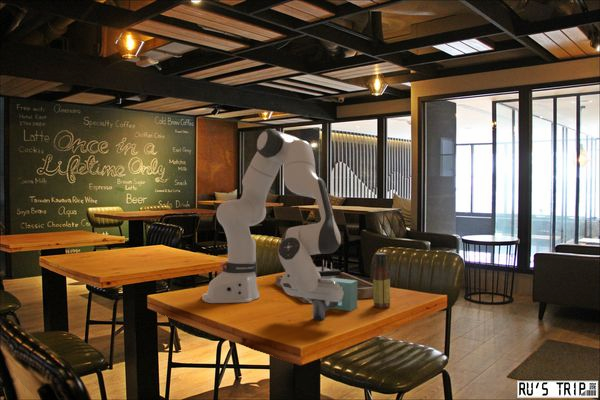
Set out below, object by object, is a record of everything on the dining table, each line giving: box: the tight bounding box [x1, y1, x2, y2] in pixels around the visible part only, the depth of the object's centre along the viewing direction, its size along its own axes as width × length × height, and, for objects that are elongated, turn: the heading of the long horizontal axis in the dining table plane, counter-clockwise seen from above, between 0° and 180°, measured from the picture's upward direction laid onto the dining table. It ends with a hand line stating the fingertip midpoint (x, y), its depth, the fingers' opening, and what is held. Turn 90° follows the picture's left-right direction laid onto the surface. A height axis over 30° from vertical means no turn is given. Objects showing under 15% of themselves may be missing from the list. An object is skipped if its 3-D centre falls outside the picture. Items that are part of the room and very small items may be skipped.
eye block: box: [328, 278, 358, 312], centre depth 177 cm, size 6×10×10 cm, turn 60°
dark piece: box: [312, 299, 338, 322], centre depth 166 cm, size 16×4×11 cm, turn 150°
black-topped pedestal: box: [312, 259, 342, 280], centre depth 202 cm, size 28×26×13 cm
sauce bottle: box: [372, 252, 391, 309], centre depth 179 cm, size 6×6×20 cm
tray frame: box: [275, 271, 373, 304], centre depth 205 cm, size 33×35×4 cm
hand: (319, 302), depth 161 cm, fingers closed on dark piece, 4 cm apart
